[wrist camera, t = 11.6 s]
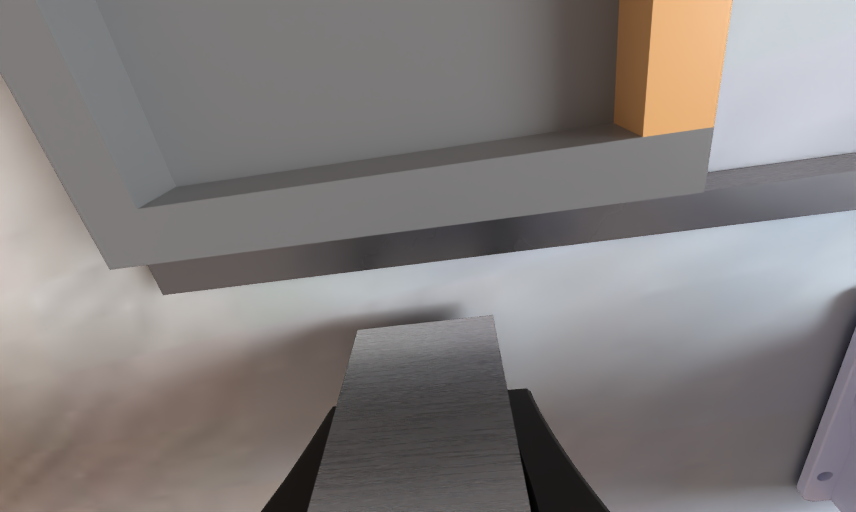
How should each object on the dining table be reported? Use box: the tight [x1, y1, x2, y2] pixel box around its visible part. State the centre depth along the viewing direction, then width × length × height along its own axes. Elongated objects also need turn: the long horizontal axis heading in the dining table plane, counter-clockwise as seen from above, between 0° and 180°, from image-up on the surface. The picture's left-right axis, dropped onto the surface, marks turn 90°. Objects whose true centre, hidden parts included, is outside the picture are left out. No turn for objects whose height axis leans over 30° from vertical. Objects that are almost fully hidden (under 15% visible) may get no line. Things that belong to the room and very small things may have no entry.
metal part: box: [307, 315, 531, 512], centre depth 11 cm, size 4×4×6 cm
